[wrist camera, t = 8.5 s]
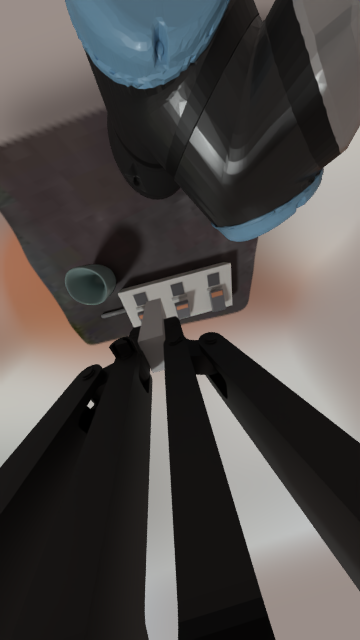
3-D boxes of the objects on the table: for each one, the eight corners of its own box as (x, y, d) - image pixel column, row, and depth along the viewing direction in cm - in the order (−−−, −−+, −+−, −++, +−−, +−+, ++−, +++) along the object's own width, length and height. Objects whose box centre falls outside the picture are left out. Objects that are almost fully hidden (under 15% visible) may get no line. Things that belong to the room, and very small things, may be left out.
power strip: (91, 297, 38) (84, 302, 34) (224, 261, 38) (231, 263, 35) (111, 331, 43) (107, 339, 40) (226, 300, 44) (232, 305, 40)
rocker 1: (137, 312, 36) (137, 315, 35) (150, 308, 36) (150, 311, 35) (145, 326, 39) (145, 329, 38) (157, 323, 40) (157, 326, 39)
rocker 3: (208, 292, 37) (210, 292, 36) (221, 288, 37) (223, 288, 36) (212, 311, 39) (213, 312, 38) (224, 308, 39) (226, 308, 38)
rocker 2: (174, 303, 36) (175, 306, 35) (187, 299, 36) (188, 302, 35) (177, 316, 40) (178, 319, 39) (189, 313, 40) (190, 316, 39)
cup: (117, 263, 35) (104, 268, 26) (121, 292, 38) (110, 306, 30) (84, 260, 33) (58, 265, 25) (90, 291, 37) (70, 304, 28)
